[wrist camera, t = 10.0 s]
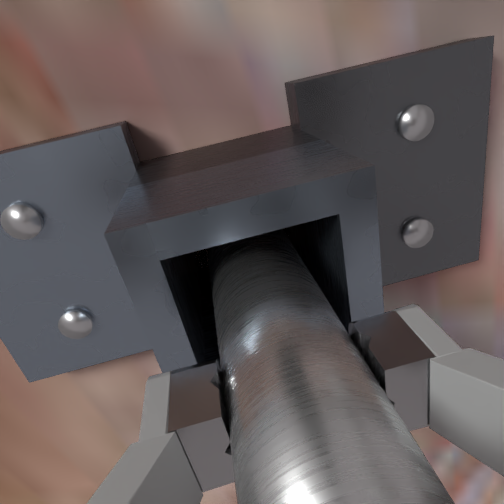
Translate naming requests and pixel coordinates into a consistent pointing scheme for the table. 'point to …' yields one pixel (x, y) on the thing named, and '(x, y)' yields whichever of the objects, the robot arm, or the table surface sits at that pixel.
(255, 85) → the table surface
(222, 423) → the robot arm
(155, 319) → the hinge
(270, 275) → the pin
